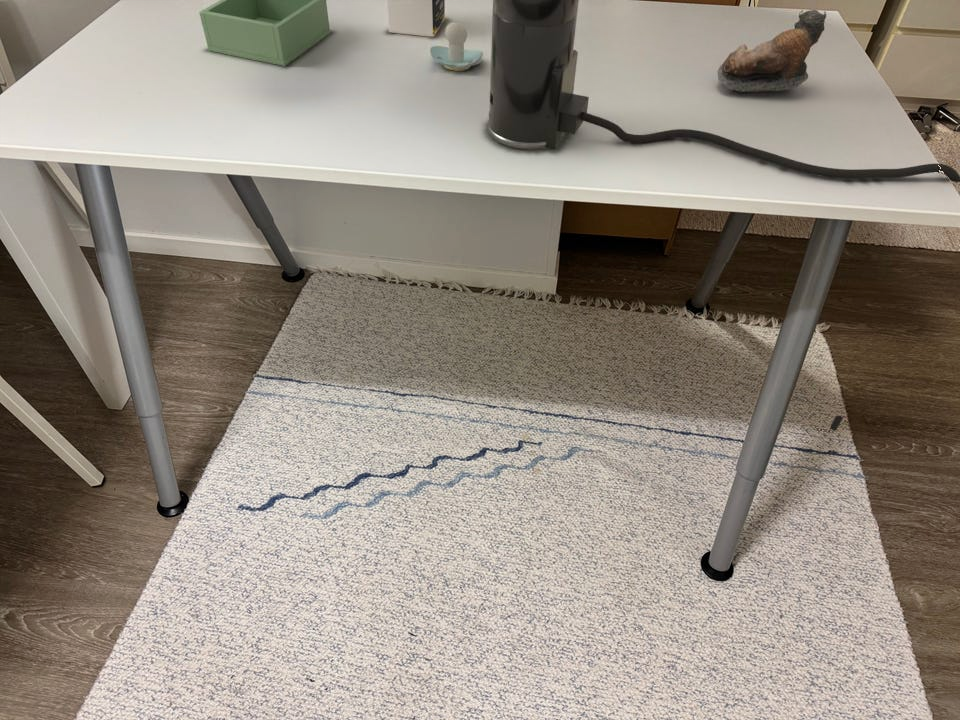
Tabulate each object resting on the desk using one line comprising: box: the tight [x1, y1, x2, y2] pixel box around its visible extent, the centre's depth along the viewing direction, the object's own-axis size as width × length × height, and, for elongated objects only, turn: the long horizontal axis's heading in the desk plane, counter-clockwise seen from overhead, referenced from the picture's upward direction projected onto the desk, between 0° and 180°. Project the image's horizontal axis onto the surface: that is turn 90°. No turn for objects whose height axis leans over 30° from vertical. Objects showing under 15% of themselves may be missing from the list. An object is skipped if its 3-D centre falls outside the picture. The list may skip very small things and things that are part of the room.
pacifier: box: [429, 21, 484, 72], centre depth 100 cm, size 7×6×6 cm
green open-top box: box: [198, 0, 331, 67], centre depth 104 cm, size 13×13×5 cm
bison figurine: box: [717, 9, 827, 93], centre depth 95 cm, size 12×7×10 cm, turn 93°
